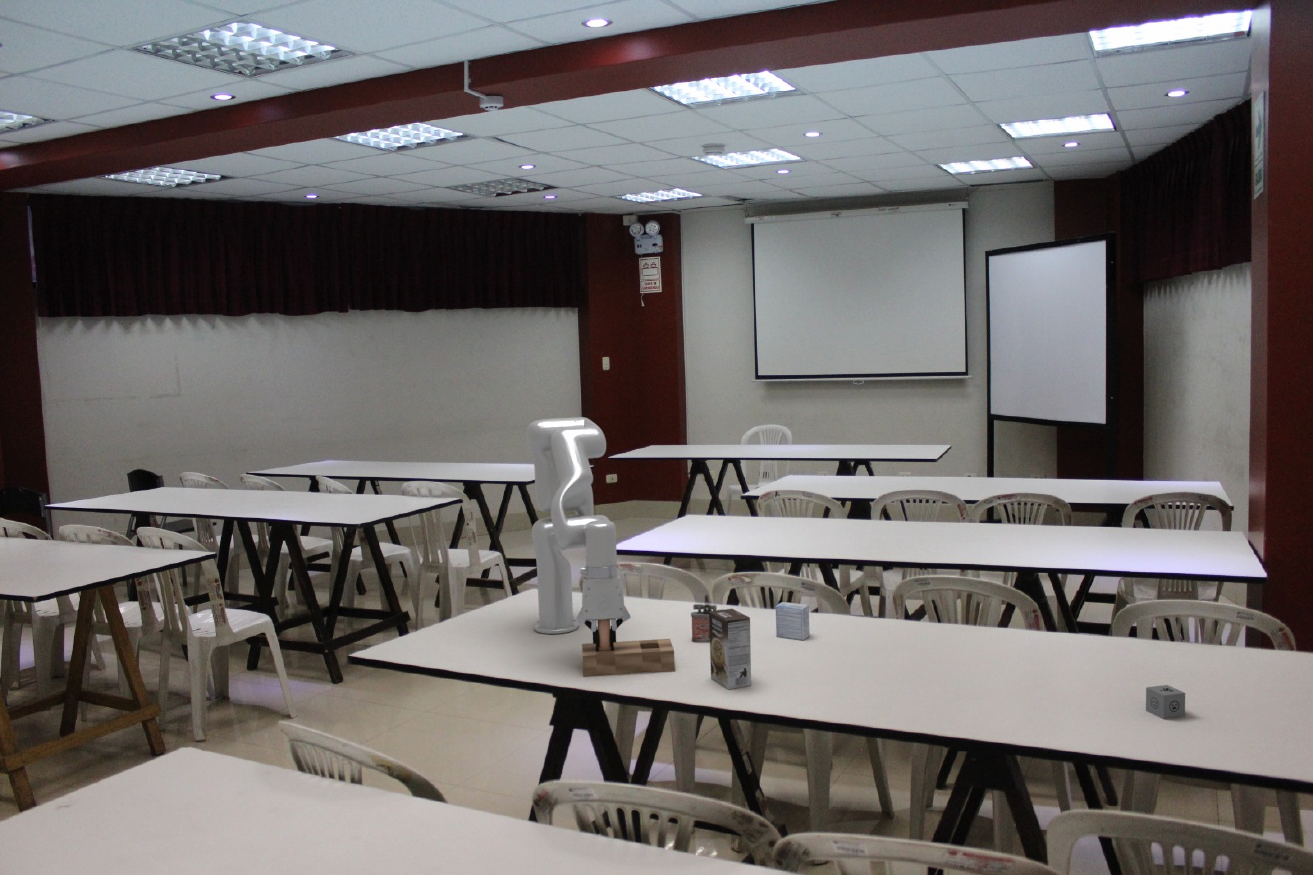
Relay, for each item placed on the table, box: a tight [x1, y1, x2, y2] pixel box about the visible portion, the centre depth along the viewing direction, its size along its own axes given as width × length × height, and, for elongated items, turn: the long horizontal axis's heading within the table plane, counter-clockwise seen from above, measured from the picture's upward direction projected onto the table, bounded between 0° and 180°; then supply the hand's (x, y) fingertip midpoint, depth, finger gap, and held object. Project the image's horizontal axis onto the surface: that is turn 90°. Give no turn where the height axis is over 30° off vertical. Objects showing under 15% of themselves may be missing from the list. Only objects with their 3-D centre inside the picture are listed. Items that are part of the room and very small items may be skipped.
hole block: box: [581, 638, 676, 677], centre depth 239 cm, size 10×22×5 cm, turn 95°
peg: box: [597, 619, 611, 652], centre depth 238 cm, size 3×3×10 cm
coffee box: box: [709, 608, 752, 690], centre depth 225 cm, size 9×6×16 cm
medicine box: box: [775, 601, 811, 641], centre depth 259 cm, size 8×4×9 cm, turn 58°
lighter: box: [690, 602, 718, 644], centre depth 258 cm, size 8×3×10 cm, turn 84°
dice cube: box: [1145, 684, 1186, 720], centre depth 198 cm, size 5×5×5 cm
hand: (604, 645), depth 238 cm, fingers closed on peg, 3 cm apart
